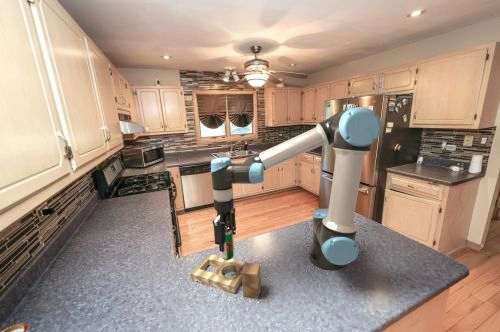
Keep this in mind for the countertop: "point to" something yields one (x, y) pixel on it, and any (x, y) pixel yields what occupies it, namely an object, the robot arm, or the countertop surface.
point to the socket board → (219, 273)
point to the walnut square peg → (251, 280)
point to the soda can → (229, 243)
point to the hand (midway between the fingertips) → (227, 253)
